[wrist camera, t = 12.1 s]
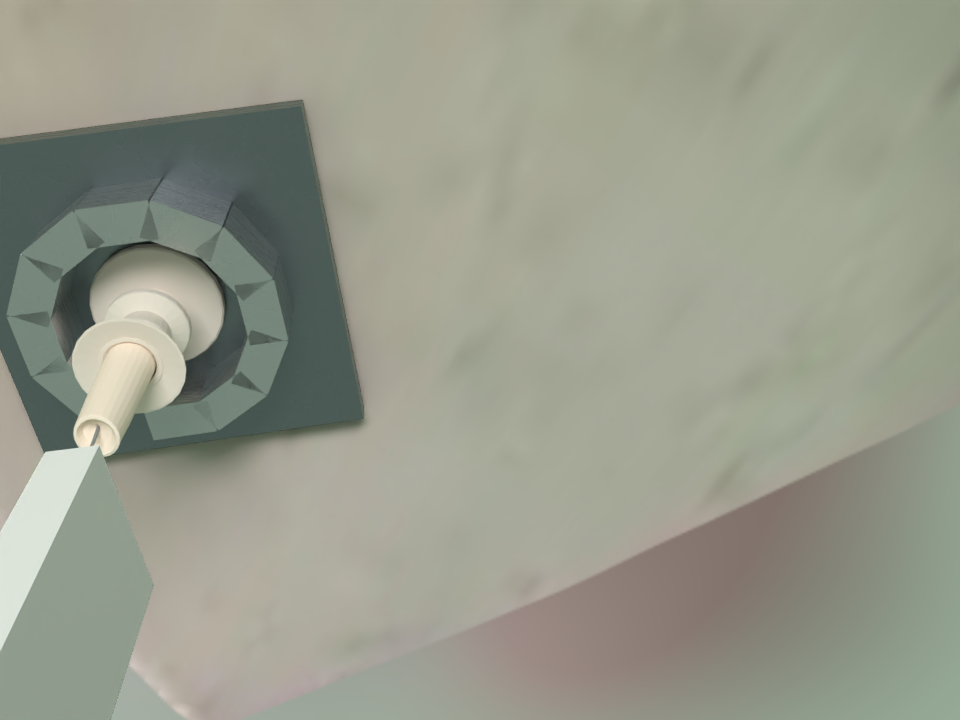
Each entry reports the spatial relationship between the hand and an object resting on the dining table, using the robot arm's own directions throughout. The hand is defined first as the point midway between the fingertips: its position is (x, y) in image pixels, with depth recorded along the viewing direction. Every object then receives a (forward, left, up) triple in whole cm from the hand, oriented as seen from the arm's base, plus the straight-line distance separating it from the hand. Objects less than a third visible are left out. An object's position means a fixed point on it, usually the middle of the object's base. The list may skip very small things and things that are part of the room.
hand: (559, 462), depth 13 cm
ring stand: (+7, -12, -25) cm, 28 cm away
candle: (+7, -13, -24) cm, 28 cm away
